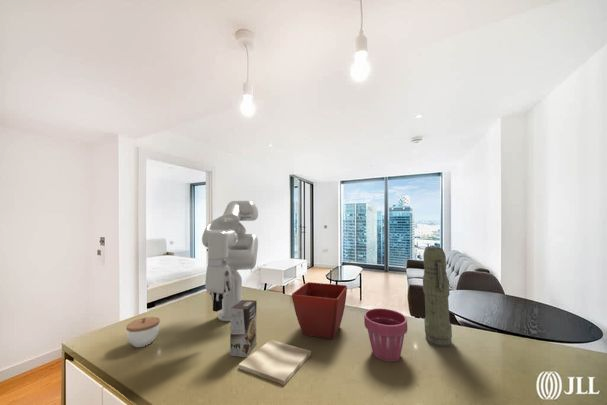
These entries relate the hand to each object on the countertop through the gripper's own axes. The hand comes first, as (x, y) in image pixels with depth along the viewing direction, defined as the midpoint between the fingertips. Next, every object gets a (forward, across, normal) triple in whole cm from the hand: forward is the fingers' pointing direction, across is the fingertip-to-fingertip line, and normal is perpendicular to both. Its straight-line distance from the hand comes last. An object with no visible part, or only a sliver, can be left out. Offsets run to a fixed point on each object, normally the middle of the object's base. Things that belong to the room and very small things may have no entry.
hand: (217, 310), depth 93 cm
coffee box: (+12, -14, 0) cm, 18 cm away
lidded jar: (+12, +24, +14) cm, 31 cm away
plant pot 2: (+12, -59, -20) cm, 64 cm away
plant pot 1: (+12, -32, -26) cm, 43 cm away
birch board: (+12, -28, 0) cm, 30 cm away
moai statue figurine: (+12, -75, -38) cm, 85 cm away
